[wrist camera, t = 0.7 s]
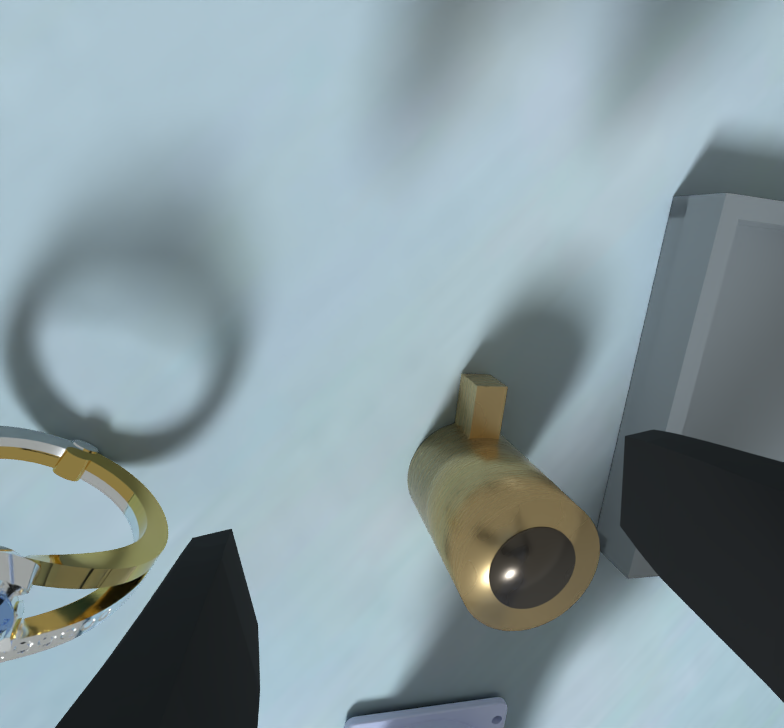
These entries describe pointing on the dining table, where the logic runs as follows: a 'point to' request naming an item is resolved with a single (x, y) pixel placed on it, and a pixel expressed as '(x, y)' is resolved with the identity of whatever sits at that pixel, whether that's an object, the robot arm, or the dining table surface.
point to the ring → (75, 571)
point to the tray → (707, 343)
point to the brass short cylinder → (500, 517)
